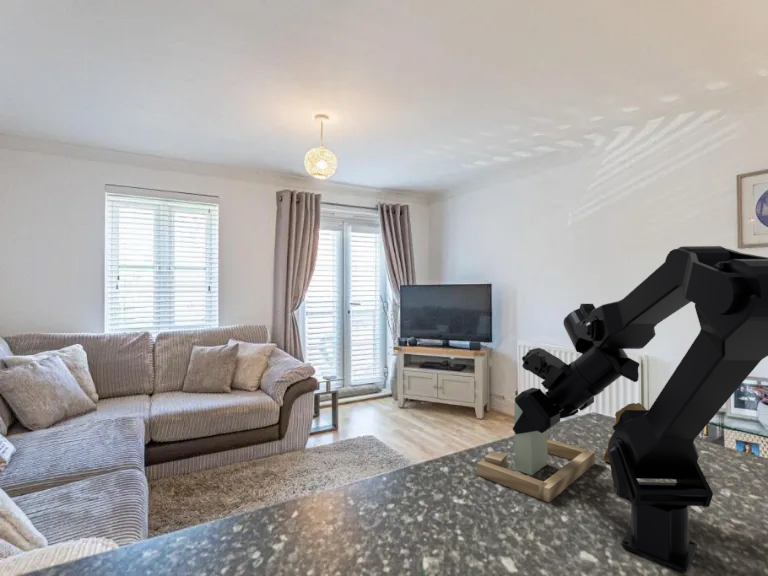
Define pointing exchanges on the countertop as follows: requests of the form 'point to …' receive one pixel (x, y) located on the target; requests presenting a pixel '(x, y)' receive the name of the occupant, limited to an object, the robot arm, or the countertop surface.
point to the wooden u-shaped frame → (553, 484)
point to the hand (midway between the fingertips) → (523, 426)
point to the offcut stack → (497, 459)
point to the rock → (618, 414)
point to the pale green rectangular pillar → (529, 449)
